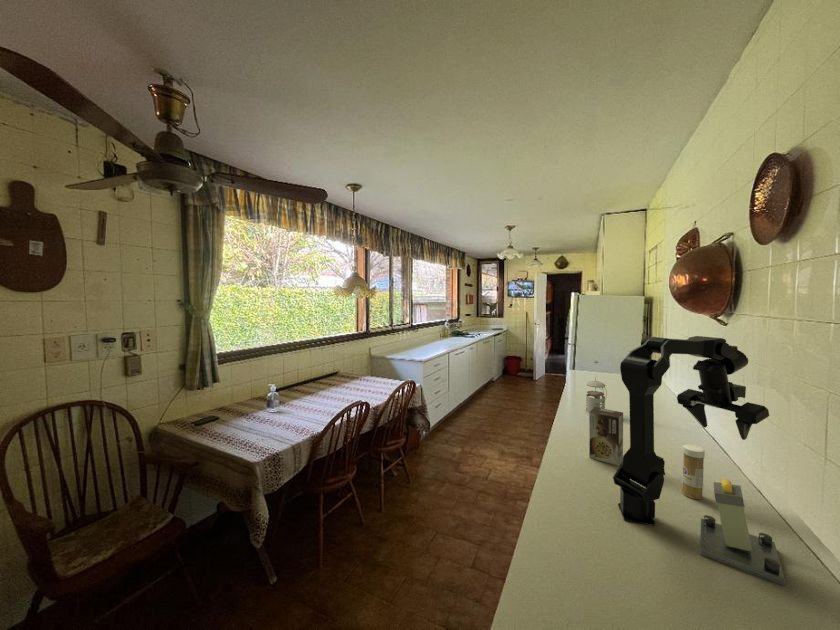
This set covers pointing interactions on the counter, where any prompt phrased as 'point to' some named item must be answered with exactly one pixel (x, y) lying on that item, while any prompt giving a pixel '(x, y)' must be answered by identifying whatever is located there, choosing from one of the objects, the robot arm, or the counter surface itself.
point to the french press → (595, 395)
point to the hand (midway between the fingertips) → (723, 432)
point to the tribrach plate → (742, 552)
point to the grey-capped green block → (732, 515)
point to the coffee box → (606, 435)
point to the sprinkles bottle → (693, 471)
